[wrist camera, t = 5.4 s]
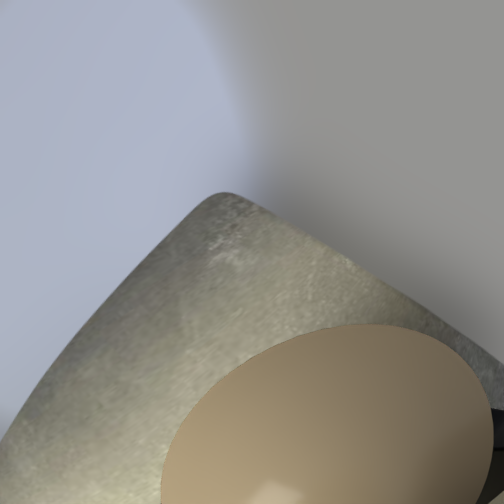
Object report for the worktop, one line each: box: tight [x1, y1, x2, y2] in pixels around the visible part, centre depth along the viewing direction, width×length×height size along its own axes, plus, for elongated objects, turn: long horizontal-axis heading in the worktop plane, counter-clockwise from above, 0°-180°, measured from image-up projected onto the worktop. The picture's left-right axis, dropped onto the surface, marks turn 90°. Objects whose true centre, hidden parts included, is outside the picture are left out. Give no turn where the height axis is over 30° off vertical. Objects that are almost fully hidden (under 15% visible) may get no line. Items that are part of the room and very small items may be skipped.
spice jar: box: [161, 324, 493, 504], centre depth 8 cm, size 5×5×12 cm
